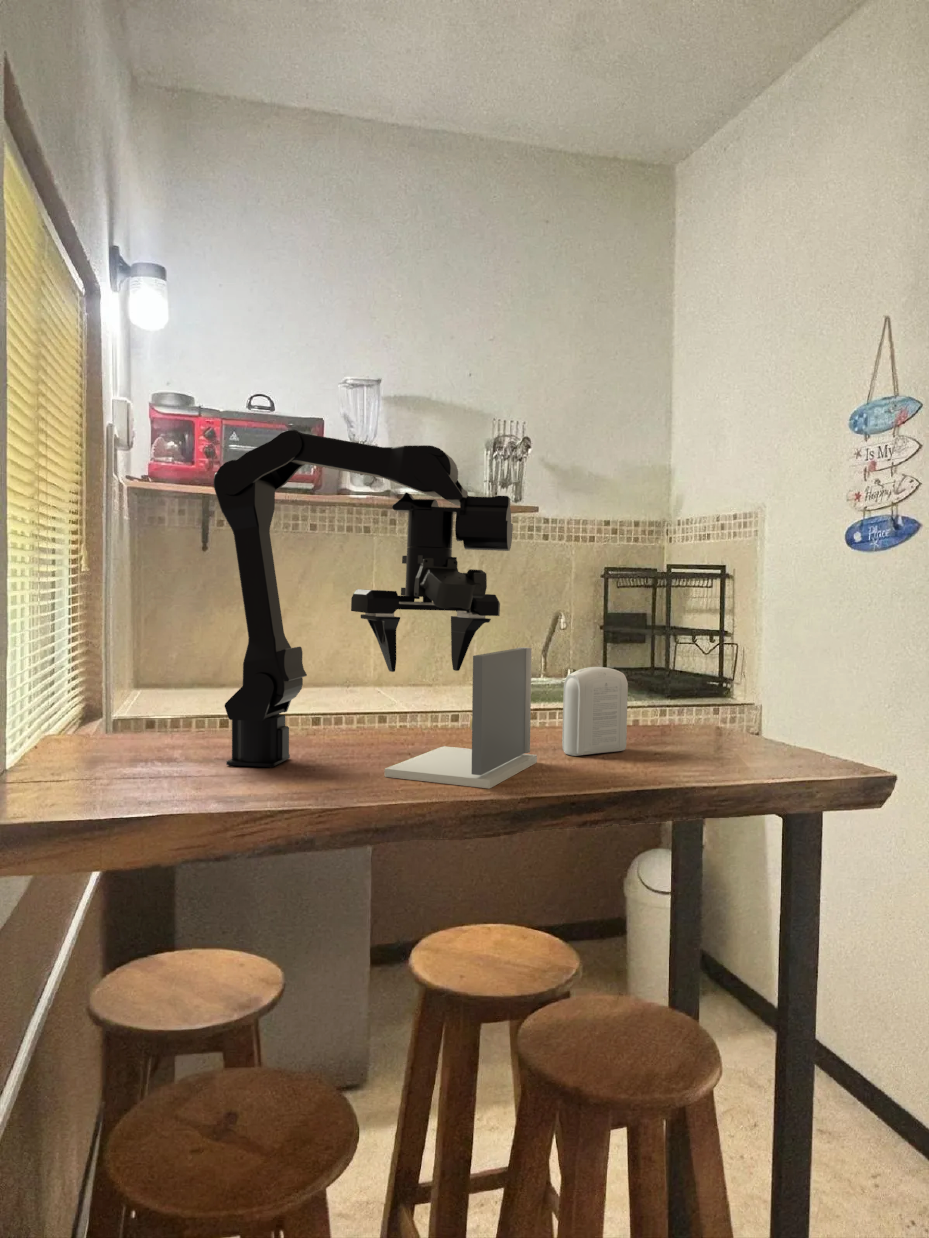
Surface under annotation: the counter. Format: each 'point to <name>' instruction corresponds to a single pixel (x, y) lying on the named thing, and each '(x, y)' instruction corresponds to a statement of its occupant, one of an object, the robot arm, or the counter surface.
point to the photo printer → (594, 711)
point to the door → (500, 708)
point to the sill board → (456, 768)
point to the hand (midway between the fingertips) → (424, 671)
